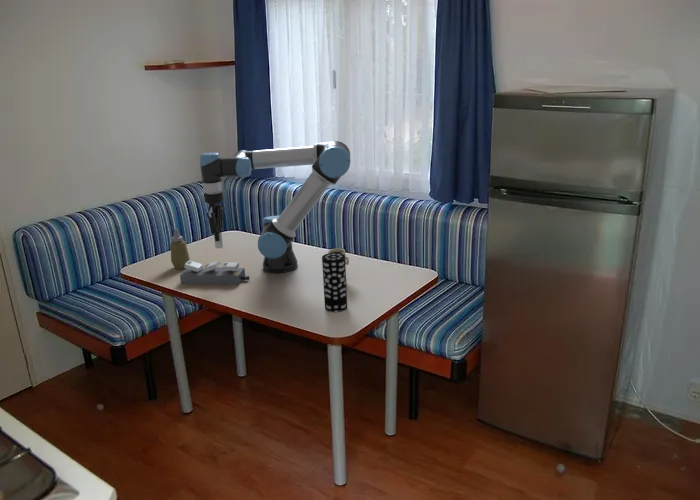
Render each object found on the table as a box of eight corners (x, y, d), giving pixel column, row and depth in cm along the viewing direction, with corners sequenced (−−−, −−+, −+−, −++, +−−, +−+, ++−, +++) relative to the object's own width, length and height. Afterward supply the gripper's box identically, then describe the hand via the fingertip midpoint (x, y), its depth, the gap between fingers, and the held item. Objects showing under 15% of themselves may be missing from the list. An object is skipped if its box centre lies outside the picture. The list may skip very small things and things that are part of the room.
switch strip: (252, 276, 248) (251, 265, 246) (245, 284, 240) (244, 273, 238) (189, 275, 252) (187, 264, 250) (181, 283, 244) (179, 272, 242)
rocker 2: (220, 264, 246) (219, 260, 245) (217, 268, 241) (215, 264, 241) (208, 268, 247) (206, 264, 247) (204, 272, 243) (202, 268, 242)
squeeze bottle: (185, 271, 257) (180, 232, 251) (169, 270, 259) (163, 231, 253) (193, 264, 265) (188, 226, 259) (177, 264, 266) (172, 226, 260)
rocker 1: (201, 268, 247) (202, 264, 247) (197, 272, 243) (198, 268, 242) (188, 263, 248) (189, 259, 247) (184, 267, 243) (185, 263, 243)
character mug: (353, 280, 240) (352, 250, 236) (345, 286, 234) (343, 255, 230) (331, 275, 245) (329, 246, 241) (322, 281, 240) (320, 252, 235)
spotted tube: (347, 302, 220) (344, 252, 214) (347, 311, 212) (345, 260, 206) (325, 303, 220) (322, 253, 213) (324, 312, 212) (321, 261, 206)
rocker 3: (239, 266, 245) (238, 262, 244) (235, 270, 241) (235, 266, 240) (225, 266, 246) (224, 262, 245) (221, 270, 241) (221, 266, 241)
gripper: (209, 188, 239) (215, 242, 247) (198, 195, 227) (204, 252, 235) (227, 188, 238) (232, 242, 246) (216, 196, 226) (222, 253, 234)
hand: (219, 247), depth 241 cm, fingers closed
